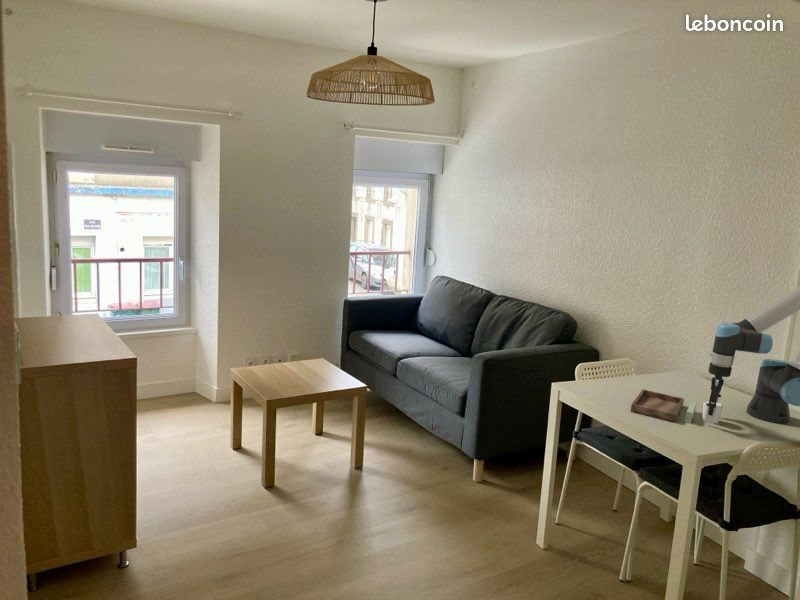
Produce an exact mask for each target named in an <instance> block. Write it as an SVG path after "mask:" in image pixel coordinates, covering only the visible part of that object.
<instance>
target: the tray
mask: <svg viewBox="0 0 800 600" xmlns="http://www.w3.org/2000/svg"><path fill="white" fill-rule="evenodd" d="M684 401H685V398H682V397H679V396H674V395H669V394H665V393H661V392H656V391H651V390H647V389H644V388H642V389H641V391H640V392H639V393H638V395H637V396H636V397H635V399H634V400H633V402H632V403H631V406H630V412H631V413H635V414H638V415H642V416H646V417H651V418H655V419H659V420H663V421H668V422H671V423H676V421H677V419H678V417H679V415H680V412H681V411H682V409H683V406H684Z"/></svg>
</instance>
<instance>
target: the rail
mask: <svg viewBox="0 0 800 600" xmlns="http://www.w3.org/2000/svg"><path fill="white" fill-rule="evenodd" d="M697 404H698V403H697V401H694V400H690V403H689V405H688V408H687V409H686V414H685V418H684V422H686V423H688V424H692V420H693V418H694V416H695V413H696V410H697Z"/></svg>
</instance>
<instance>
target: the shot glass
mask: <svg viewBox="0 0 800 600" xmlns="http://www.w3.org/2000/svg"><path fill="white" fill-rule="evenodd" d="M709 400H710V399H709ZM709 400H707V399H706V400H704V401H703V406H702V417H701V419H702V421H704V422H705V418H706V413H707V408H708V406H706V403H709ZM711 403H712V402H711ZM714 404H715V403H714ZM723 409H724V404H723V403H721V402H719V401H718V402H717V403H716V410H715V415H714V420H713V424H718V423H719V421H720V418H721V414H722V412H723Z"/></svg>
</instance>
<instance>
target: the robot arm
mask: <svg viewBox="0 0 800 600" xmlns="http://www.w3.org/2000/svg"><path fill="white" fill-rule="evenodd" d="M798 311H800V285H799V286H797V287H796V288H794V289H793V290H791V291H789V292H787V293H786V294H784V295H782V296H781V297H779V298H777V299H776V300H774V301H773V302H770V303H769V304H767V305H766V306H764V307H762V308H761V309H759V310H757V311H756V312H754V313H753V314H751V315H749V316H748V317H746V318H744V319H743V320H740V321H739V322H731V323H729V322H720V323H718V325H717V328H716V331H715V335H714V336H715V337H714V341H713V348H712V352H711V353H710V354H709V356H710V363H709V366H708V370H707V371H708V373H709V374H710V375H714V376H712V378H711V381H710V383H711V385H710V390H711V391H710V396H709V403H706V406H708V408H707V413H706V418H705V421H704V423H707V424H711V425H713V424H714V423H713V420H714V415H715V410H716V403H717V402H719V399H721V397H722V394H721V392H722V387H723V386H724V381H725V379H723V378H728V377H731V374H732V371H733V370H732V369H733V368H732V366H734V365H733V364H734V362H735V361H734V360H735V355H736V351H737V352H746V353H754V354H765V355H766V354H769V353H770V352H771V351H772V348H773V344H774V342H773V341H774V340H773V338H772V335H770V334H769V333H764V332H765V331H767V330H768V329H770V328H771V327H773V326H775V325H776V324H778V323H780V322H782V321H783V320H785V319H786V318H789V317H790V316H792V315H793V314H796V313H797V312H798ZM711 402H712V403H711ZM714 403H715V404H714ZM789 405H792V406H795V407H800V350H799V352H798V354H797V355H796V357H795V359H794V360H791V361H788V360H782V359H773V358H763V359H762V360H761V363H760V365H759V371H758V377H757V381H756V387H755V391H754V395H753V396H752V398H751V399H750V401H749V403H748V404H747V406H746V409H745V412H746V413H747V414H748V415H749V416H752V417H754V418H756V419H759V420H762V421H765V422H766V421H767V422H771V423H778V424H779V423H780V424H785V423H789V422H790V420H791V411H790V406H789Z"/></svg>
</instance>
